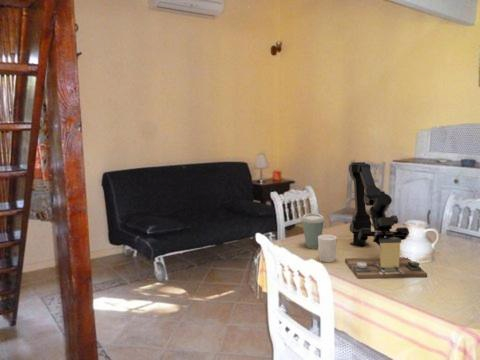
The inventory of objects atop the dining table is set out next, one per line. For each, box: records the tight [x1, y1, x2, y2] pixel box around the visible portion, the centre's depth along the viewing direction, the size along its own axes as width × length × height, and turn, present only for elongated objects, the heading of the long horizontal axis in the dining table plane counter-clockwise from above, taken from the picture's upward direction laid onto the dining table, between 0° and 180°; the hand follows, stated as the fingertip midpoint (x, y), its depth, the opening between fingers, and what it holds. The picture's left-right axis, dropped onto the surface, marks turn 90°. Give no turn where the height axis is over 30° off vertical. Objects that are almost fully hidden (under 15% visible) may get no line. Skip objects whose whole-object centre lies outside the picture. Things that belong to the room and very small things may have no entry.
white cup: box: [317, 234, 338, 263], centre depth 170 cm, size 8×8×10 cm
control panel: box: [344, 256, 428, 280], centre depth 158 cm, size 18×26×2 cm
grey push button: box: [357, 262, 367, 269], centre depth 154 cm, size 4×4×1 cm
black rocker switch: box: [408, 261, 420, 267], centre depth 154 cm, size 4×3×1 cm
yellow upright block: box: [378, 237, 402, 272], centre depth 152 cm, size 4×8×13 cm, turn 90°
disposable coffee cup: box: [301, 212, 325, 249], centre depth 188 cm, size 11×11×15 cm
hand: (388, 253), depth 153 cm, fingers closed
